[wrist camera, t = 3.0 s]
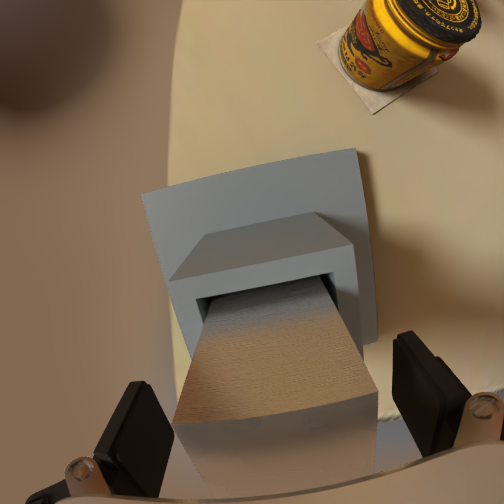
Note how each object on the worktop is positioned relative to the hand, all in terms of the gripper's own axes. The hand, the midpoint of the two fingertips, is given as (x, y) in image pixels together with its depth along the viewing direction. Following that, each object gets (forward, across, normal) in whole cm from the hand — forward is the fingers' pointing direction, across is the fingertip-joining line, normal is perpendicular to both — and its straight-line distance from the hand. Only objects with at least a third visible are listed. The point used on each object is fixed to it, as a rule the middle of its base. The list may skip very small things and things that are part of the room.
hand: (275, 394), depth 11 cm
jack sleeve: (+15, 0, 0) cm, 15 cm away
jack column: (+13, 0, 0) cm, 13 cm away
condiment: (+15, -13, -16) cm, 25 cm away
